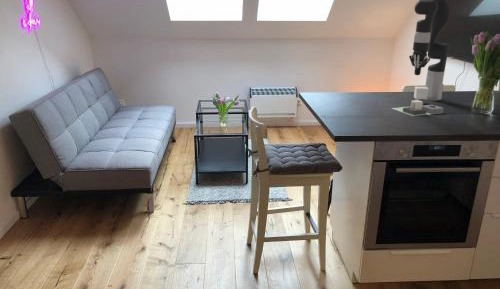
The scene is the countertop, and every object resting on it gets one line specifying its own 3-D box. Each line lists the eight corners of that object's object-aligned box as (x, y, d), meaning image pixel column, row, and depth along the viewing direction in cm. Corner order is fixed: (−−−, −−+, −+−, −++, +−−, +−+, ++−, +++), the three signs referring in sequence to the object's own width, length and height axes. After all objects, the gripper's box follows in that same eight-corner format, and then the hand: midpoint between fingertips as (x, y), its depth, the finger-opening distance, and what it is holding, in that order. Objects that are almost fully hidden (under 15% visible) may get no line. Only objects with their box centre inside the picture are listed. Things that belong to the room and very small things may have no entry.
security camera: (426, 106, 230) (428, 88, 227) (413, 105, 231) (415, 88, 228) (423, 103, 236) (426, 86, 233) (411, 103, 237) (413, 86, 234)
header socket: (415, 110, 217) (416, 106, 216) (425, 113, 210) (426, 109, 210) (402, 111, 214) (403, 107, 213) (412, 114, 207) (413, 111, 207)
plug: (415, 111, 215) (417, 100, 213) (421, 112, 211) (422, 101, 209) (408, 111, 213) (409, 100, 211) (413, 113, 210) (415, 102, 208)
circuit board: (419, 107, 227) (421, 100, 226) (443, 114, 212) (444, 107, 211) (390, 110, 221) (391, 102, 219) (412, 117, 206) (413, 110, 204)
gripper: (437, 42, 204) (432, 76, 210) (418, 39, 215) (413, 72, 221) (425, 42, 201) (420, 77, 207) (406, 40, 213) (402, 73, 219)
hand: (417, 74), depth 214 cm, fingers closed
